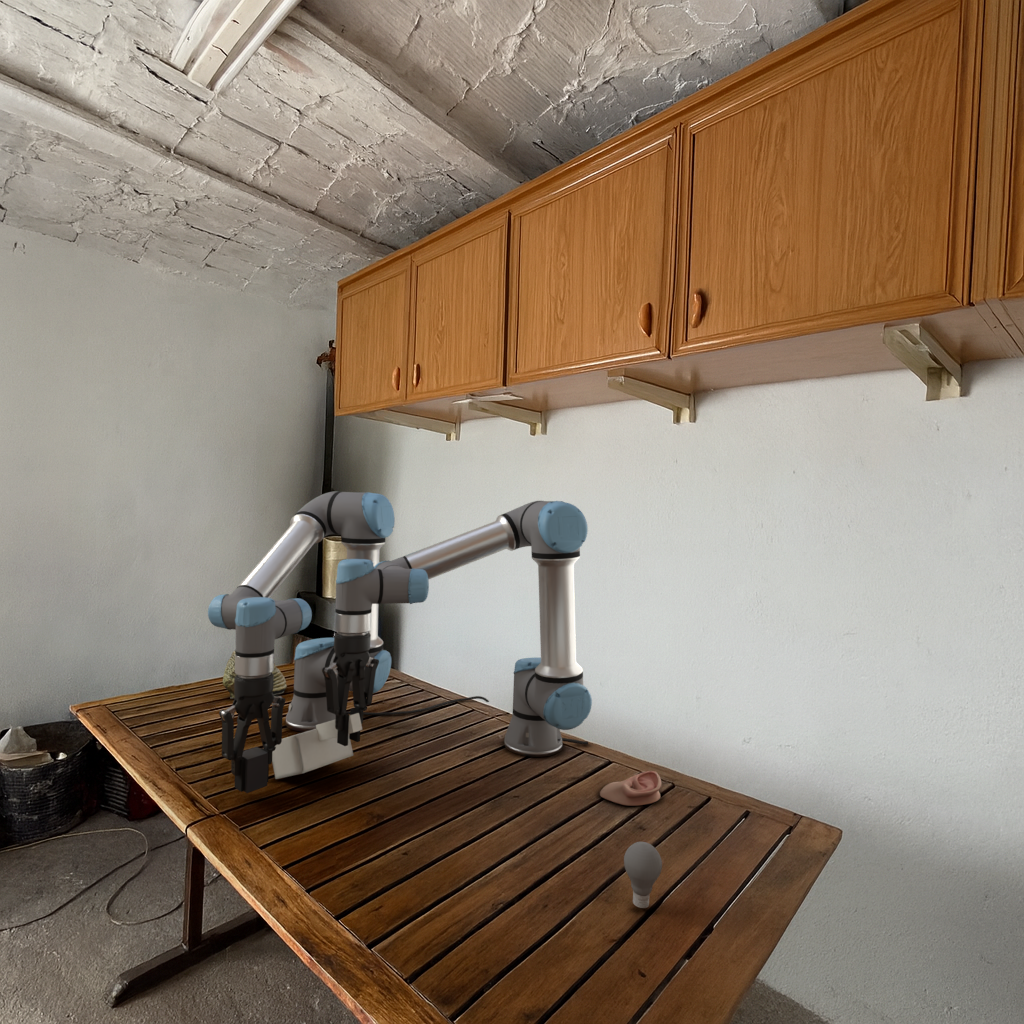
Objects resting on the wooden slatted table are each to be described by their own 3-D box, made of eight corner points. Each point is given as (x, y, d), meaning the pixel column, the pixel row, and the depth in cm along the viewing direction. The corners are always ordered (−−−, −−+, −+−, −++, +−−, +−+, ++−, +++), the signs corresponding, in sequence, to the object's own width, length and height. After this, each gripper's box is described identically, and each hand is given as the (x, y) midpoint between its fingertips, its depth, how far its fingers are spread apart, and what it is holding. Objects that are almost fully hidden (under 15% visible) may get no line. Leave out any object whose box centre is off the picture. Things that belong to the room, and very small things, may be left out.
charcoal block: (256, 779, 135) (256, 746, 134) (267, 785, 132) (268, 752, 132) (235, 786, 131) (236, 753, 131) (246, 793, 128) (247, 759, 128)
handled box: (326, 761, 151) (318, 724, 153) (388, 747, 137) (379, 706, 139) (275, 779, 140) (268, 739, 142) (336, 766, 127) (327, 721, 129)
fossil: (218, 695, 195) (220, 647, 195) (278, 685, 208) (279, 640, 207) (228, 703, 189) (230, 653, 188) (289, 692, 201) (290, 645, 201)
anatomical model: (599, 783, 136) (602, 762, 148) (598, 802, 136) (601, 779, 148) (662, 792, 134) (661, 769, 145) (661, 810, 134) (660, 787, 145)
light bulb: (617, 894, 104) (620, 834, 104) (653, 893, 105) (656, 834, 105) (627, 918, 98) (630, 854, 98) (664, 917, 99) (668, 854, 99)
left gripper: (282, 661, 140) (280, 765, 141) (202, 678, 126) (200, 793, 127) (302, 668, 135) (299, 776, 136) (221, 687, 121) (218, 806, 122)
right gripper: (370, 624, 143) (366, 728, 143) (310, 634, 131) (306, 747, 131) (392, 630, 138) (388, 737, 139) (332, 640, 126) (328, 757, 127)
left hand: (251, 784), depth 131 cm, fingers closed on charcoal block, 4 cm apart
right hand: (348, 741), depth 135 cm, fingers closed on handled box, 2 cm apart
